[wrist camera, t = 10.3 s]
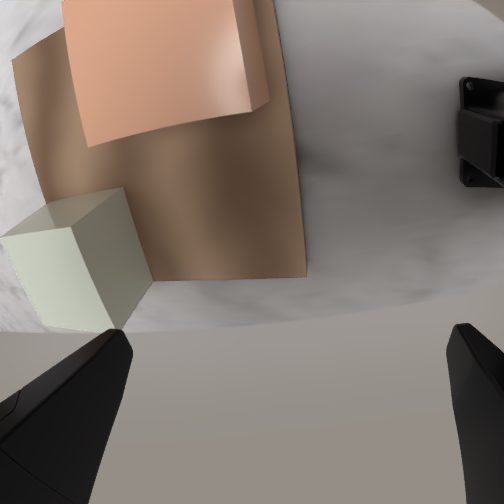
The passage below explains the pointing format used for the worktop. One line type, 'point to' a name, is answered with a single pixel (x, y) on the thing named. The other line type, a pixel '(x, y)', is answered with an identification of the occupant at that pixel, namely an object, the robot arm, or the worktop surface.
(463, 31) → the worktop surface
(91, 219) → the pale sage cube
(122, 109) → the salmon foam cube
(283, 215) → the walnut board
